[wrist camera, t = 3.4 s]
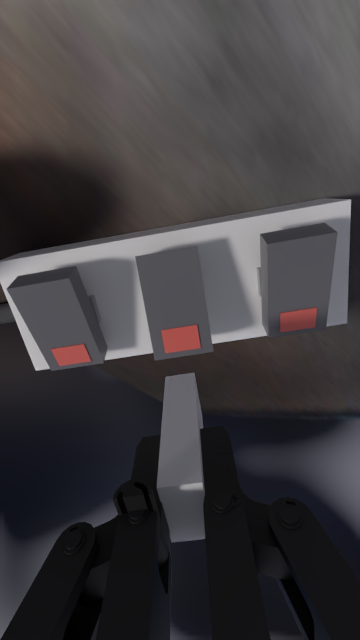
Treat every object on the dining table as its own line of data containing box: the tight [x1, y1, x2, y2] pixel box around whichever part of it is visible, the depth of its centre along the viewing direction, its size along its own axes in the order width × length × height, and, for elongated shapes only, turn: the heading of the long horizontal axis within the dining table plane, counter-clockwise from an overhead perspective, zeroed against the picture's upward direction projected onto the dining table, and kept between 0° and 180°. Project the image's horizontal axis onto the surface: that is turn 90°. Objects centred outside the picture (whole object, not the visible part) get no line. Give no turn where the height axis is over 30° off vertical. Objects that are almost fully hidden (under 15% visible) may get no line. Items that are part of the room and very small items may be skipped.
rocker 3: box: [260, 223, 337, 338], centre depth 21 cm, size 7×4×2 cm, turn 10°
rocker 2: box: [135, 246, 214, 360], centre depth 21 cm, size 7×4×2 cm, turn 10°
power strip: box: [0, 198, 351, 370], centre depth 25 cm, size 9×33×5 cm, turn 100°
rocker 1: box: [7, 266, 108, 371], centre depth 22 cm, size 7×4×2 cm, turn 10°
